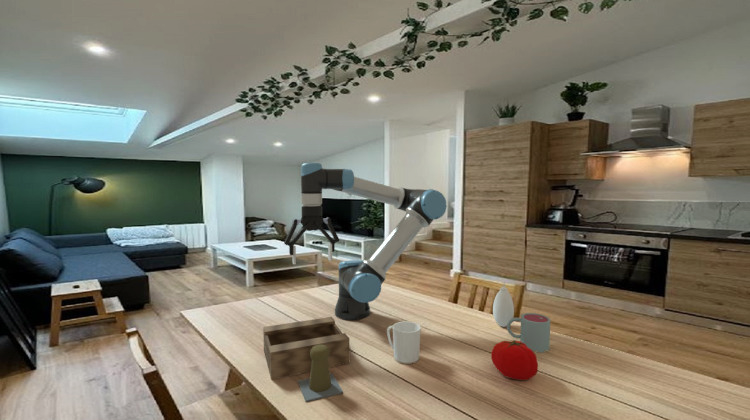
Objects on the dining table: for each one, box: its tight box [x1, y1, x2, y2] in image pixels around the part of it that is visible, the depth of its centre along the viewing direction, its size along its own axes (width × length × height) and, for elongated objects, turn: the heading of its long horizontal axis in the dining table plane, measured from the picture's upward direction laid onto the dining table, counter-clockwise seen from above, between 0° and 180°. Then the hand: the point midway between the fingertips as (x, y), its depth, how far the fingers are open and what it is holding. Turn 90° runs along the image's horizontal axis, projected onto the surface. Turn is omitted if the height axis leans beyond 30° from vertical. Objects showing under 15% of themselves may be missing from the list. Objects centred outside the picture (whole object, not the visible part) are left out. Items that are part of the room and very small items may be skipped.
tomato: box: [490, 339, 539, 381], centre depth 103 cm, size 11×13×10 cm
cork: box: [309, 345, 331, 392], centre depth 97 cm, size 6×6×11 cm
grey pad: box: [297, 372, 344, 403], centre depth 97 cm, size 10×10×1 cm
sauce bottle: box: [492, 281, 515, 328], centre depth 139 cm, size 8×8×18 cm
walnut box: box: [262, 316, 350, 381], centre depth 114 cm, size 24×20×8 cm
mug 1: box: [386, 320, 422, 365], centre depth 114 cm, size 11×9×10 cm
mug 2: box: [506, 312, 551, 353], centre depth 123 cm, size 14×9×10 cm
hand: (312, 262), depth 132 cm, fingers open, 13 cm apart
